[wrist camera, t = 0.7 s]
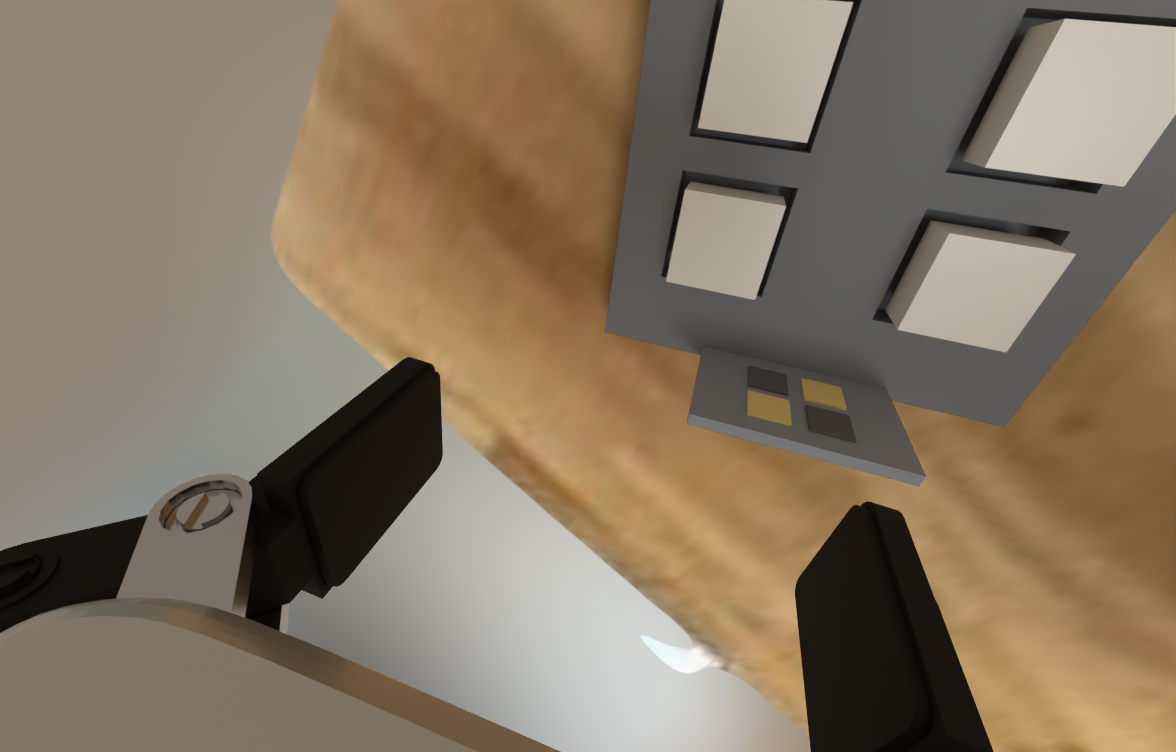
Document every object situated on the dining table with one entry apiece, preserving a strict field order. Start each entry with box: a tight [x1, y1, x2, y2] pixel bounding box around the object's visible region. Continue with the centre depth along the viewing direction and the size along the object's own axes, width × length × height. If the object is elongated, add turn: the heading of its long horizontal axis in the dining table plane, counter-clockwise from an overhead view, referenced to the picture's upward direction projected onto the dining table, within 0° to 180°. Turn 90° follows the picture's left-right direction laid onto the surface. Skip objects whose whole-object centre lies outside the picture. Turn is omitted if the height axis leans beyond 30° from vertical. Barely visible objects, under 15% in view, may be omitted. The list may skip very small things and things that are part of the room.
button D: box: [666, 181, 786, 300], centre depth 23 cm, size 4×4×2 cm
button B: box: [698, 0, 853, 143], centre depth 19 cm, size 4×4×2 cm
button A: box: [962, 19, 1176, 187], centre depth 17 cm, size 4×4×2 cm
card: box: [687, 346, 926, 486], centre depth 23 cm, size 10×1×7 cm, turn 84°
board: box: [605, 0, 1176, 427], centre depth 22 cm, size 22×18×3 cm
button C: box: [886, 220, 1076, 352], centre depth 20 cm, size 4×4×2 cm
